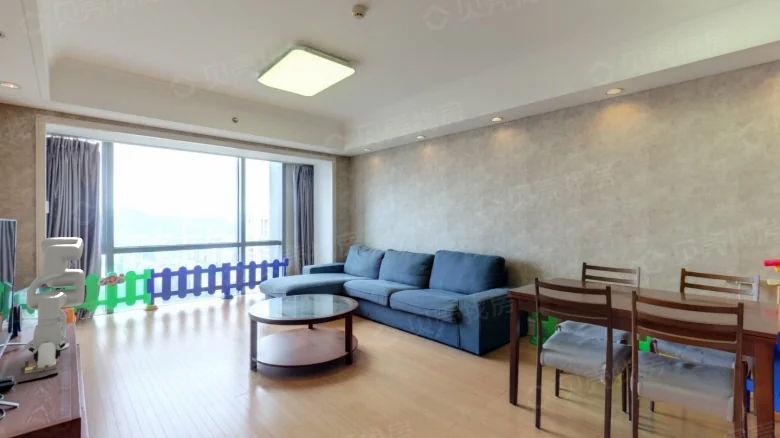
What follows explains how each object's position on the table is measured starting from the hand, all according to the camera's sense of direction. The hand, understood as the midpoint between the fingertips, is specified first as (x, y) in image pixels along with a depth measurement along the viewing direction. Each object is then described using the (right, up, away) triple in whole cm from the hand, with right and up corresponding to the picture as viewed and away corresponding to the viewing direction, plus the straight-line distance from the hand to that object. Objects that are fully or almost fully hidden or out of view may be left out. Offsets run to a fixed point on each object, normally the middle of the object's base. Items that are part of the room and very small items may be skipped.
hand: (47, 359), depth 173 cm
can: (0, -3, 0) cm, 3 cm away
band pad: (-5, -4, -4) cm, 7 cm away
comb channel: (-2, -4, -1) cm, 4 cm away
